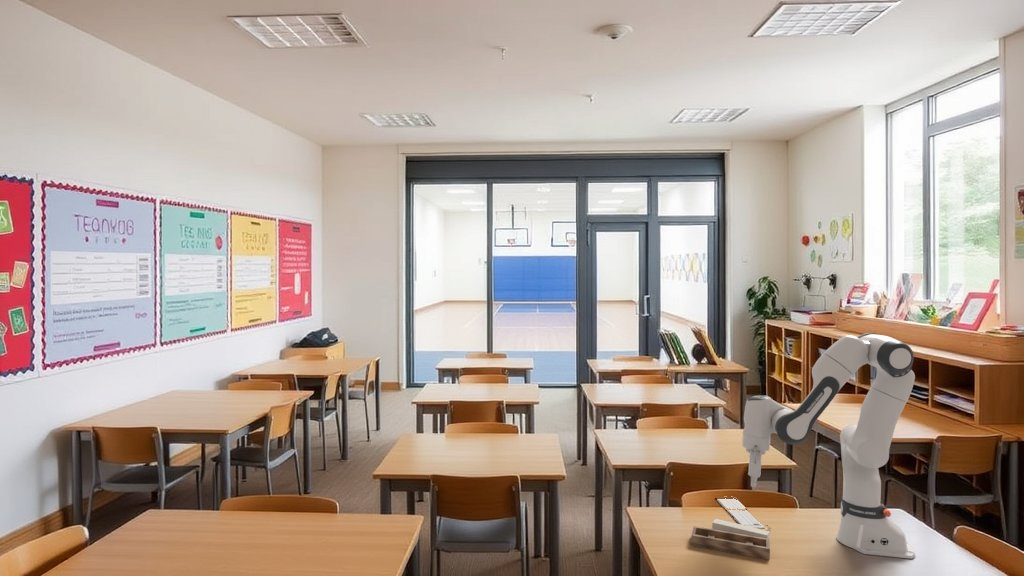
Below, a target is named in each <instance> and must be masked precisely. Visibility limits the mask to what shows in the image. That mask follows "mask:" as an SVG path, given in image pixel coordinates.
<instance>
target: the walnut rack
mask: <svg viewBox="0 0 1024 576" xmlns="http://www.w3.org/2000/svg"><path fill="white" fill-rule="evenodd" d="M690 537H691V538H690V539H691V540H690V541H691V543H690V546H691V547H698V548H704V549H708V550H715V551H719V552H723V553H729V552H730V554H736V555H740V554H741V555H742V556H747V557H750V558H757V559H763V560H767V561H769V560H770V559H771V558H770V556H771V555H770V553H771V549H770V548H771V546H770V545H771V544H770V543H771V542H770V538H769V539H767V538H761V537H755V536H749V535H743V534H737V533H732V532H726V531H720V530H714V529H712V528H707V527H700V526H695V525H693V528H692V531H691V536H690Z"/></svg>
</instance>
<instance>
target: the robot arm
mask: <svg viewBox="0 0 1024 576" xmlns="http://www.w3.org/2000/svg"><path fill="white" fill-rule="evenodd" d="M914 356H915V355H914V351H913V350H912V348H911V347H910V345H908V344H907V343H905V342H903V341H902V340H899V339H896V338H894V337H891V336H888V335H884V334H883V335H881V334H879V333H875V332H868V333H863V334H860V335H858V336H856V335H848V334H847V335H844V336H841V337H840V338H839V339H838V340H837V341H834V343H833V344H832V345H830V346H829V347H828V348H827V349H826V350H825V351H824V352H823V353H822V354H821V355H820V357H819V358H818V359H817V360H816V362H815V363H814V364H813V366H812V368H811V377H812V380H813V381H812V382H813V383H812V384H813V385H812V389H811V391H810V392H809V393H808V394H807V396H806V397H805V398H804V400H803V401H802V402H800V404H799V406H797V408H796V409H792V408H790V407H788V406H786V405H783V404H780V403H779V402H777V401H775V400H773V398H772V397H770V396H768V395H763V394H758V395H752V396H749V397H748V398H747V399H746V401H745V405H744V406H745V407H744V411H743V412H744V414H743V422H744V427H743V429H742V442H741V445H742V447H744V448H745V451H746V452H747V453H748V476H749V477H750V487H752V488H756V487H757V482H758V478H760V477H761V474H762V473H761V471H762V456H763V455H766V452H767V451H770V448H771V435H772V434H776V435H777V436H778V438H779V439H780V440H781V442H784V443H785V444H787V445H791V446H798V445H800V444H803V443H805V442H806V441H807V440H808V438H809V437H810V434H811V433H812V429H813V427H814V425H815V422H816V421H817V420H818V418H820V416H821V414H822V413H823V412H824V411H825V409H826V408H827V407H828V406H829V405H830V403H831V402H832V401H833V400H834V399H835V397H836V396H837V394H838V393H839V392H840V390H841V389H842V388H843V386H845V384H846V383H847V382H849V380H850V379H851V378H852V377H853V376H854V375H855V374H856V373H857V371H858V370H859V369H860V368H861V367H863V366H864V365H867V364H868V365H870V366H872V367H873V368H876V375H875V379H874V380H873V382H872V384H871V385H870V387H869V390H868V392H867V393H866V396H865V398H864V400H863V401H862V403H861V406H860V412H859V413H860V414H859V417H858V422H857V424H848V425H846V426H844V428H842V429H841V432H840V434H839V441H840V452H841V454H840V455H841V462H842V463H841V464H842V465H841V466H842V472H843V473H842V475H843V477H842V479H843V485H842V497H841V501H840V515H841V518H840V524H839V528H838V531H837V534H836V536H835V538H836V540H837V541H838V542H840V544H842V545H844V546H846V547H848V548H851V549H853V550H855V551H857V552H859V553H861V554H864V555H870V556H871V555H872V556H881V557H882V556H883V557H890V558H891V557H892V558H899V559H900V558H902V559H914V558H915V556H916V554H915V550H914V548H913V547H912V545H911V544H910V543H909V542H908V541H907V538H906V534H905V532H904V531H903V529H902V528H901V526H899V525H898V524H897V523H895V522H894V521H893V520H892V519H891V518H890V517H891V516H892V513H891V510H889V509H888V508H887V507H886V505H884V504H883V503H881V495H882V494H881V492H882V480H881V477H880V471H879V468H881V467H884V466H885V465H886V464H887V463H888V461H889V458H890V447H891V444H892V441H893V436H894V432H895V429H896V425H897V423H898V420H900V419H899V418H900V416H901V414H902V412H903V411H904V409H905V406H906V404H907V403H908V401H909V398H910V396H911V394H912V390H913V387H914V384H915V380H916V375H915V372H914V371H913V370H912V369H913V363H914V359H915V357H914Z"/></svg>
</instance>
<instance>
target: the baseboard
mask: <svg viewBox="0 0 1024 576" xmlns="http://www.w3.org/2000/svg"><path fill="white" fill-rule="evenodd" d="M734 498H735V497H734ZM734 498H733V499H726V498H725V499H717V500H716V502H718V504H720V505H721V507H722V508H723V509H724V508H728V509H729V508H730V509H731V510H728V511H729V513H730V514H731V515H732V516H733V517H734V518H733V517H732V516H731V515H730V514H729V513H728V514H729V515H730V516H731V517H732V518H733V519H734V521H735V520H736V521H737V522H738V523H739V524H741V525H745V526H749V527H754V528H758V529H768V528H767V527H769V526H768V524H763V523H762V524H763V525H762V524H760V522H761V521H760V522H758V521H757V520H756V519H755V518H754V517H753V516H752V515H751V514H750V513H749V512H748V511H747V510H745V511H742V510H740V511H739V510H737V508H738V509H745V508H746V507H745V505H744V504H742V503H741V501H739V499H737V498H736V499H737V500H736V499H734ZM732 509H736V510H732ZM736 521H735V522H736ZM737 522H736V523H737ZM738 523H737V524H738ZM764 526H765V527H766V528H765V527H764ZM770 529H772V527H769V530H770Z"/></svg>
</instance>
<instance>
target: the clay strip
mask: <svg viewBox="0 0 1024 576" xmlns="http://www.w3.org/2000/svg"><path fill="white" fill-rule="evenodd" d="M711 524H712V525H711V527H712V528H711V529H714V530H720V531H726V532H732V533H737V534H743V535H749V536H755V537H761V538H767V539H769V540H770V534H771V533H770V531H771V530H762V529H758V528H754V527H749V526H745V525H741V524H738V523H737V522H736V523H735V522H731V521H727V520H722V519H719V518H715V519H714V520H713V521H712V522H711Z"/></svg>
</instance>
